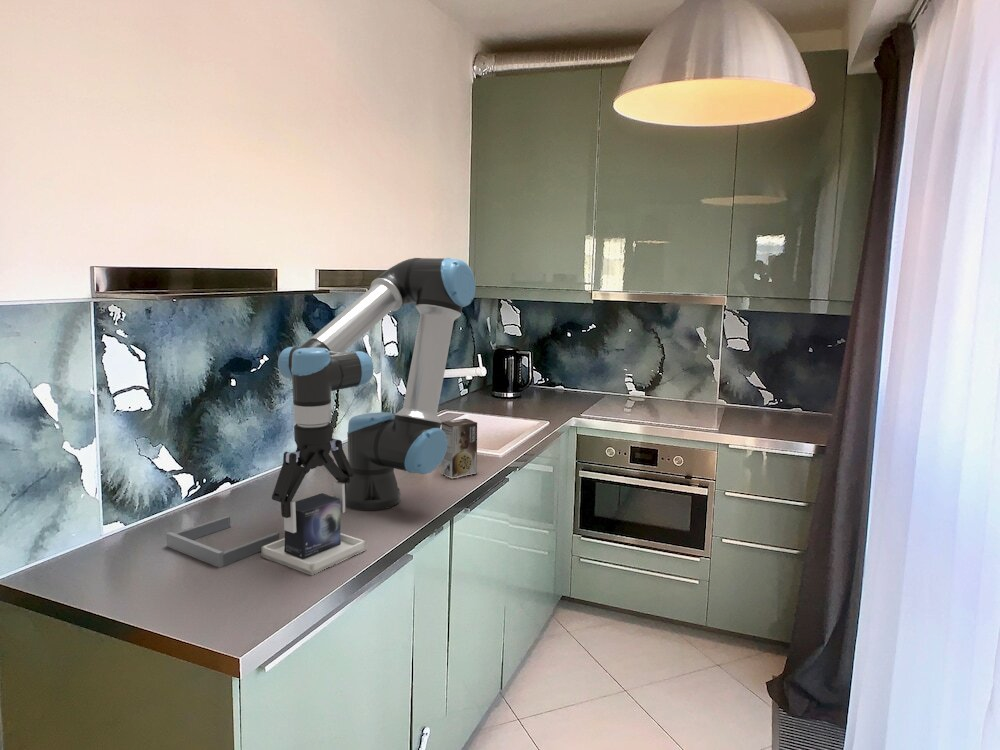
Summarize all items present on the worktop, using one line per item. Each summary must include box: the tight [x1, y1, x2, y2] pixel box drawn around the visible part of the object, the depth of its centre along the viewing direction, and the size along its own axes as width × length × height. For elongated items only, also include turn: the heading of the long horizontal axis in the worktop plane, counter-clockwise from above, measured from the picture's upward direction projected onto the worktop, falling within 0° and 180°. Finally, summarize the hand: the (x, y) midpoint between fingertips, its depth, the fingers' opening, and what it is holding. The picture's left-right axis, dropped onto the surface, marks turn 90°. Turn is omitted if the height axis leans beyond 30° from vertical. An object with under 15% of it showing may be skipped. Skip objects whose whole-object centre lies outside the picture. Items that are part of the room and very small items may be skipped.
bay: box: [165, 515, 280, 568], centre depth 151 cm, size 15×18×3 cm
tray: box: [260, 533, 367, 576], centre depth 148 cm, size 15×15×2 cm
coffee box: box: [440, 418, 478, 477], centre depth 206 cm, size 9×6×16 cm
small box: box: [284, 493, 342, 559], centre depth 148 cm, size 11×6×10 cm, turn 146°
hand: (316, 521), depth 147 cm, fingers open, 13 cm apart
